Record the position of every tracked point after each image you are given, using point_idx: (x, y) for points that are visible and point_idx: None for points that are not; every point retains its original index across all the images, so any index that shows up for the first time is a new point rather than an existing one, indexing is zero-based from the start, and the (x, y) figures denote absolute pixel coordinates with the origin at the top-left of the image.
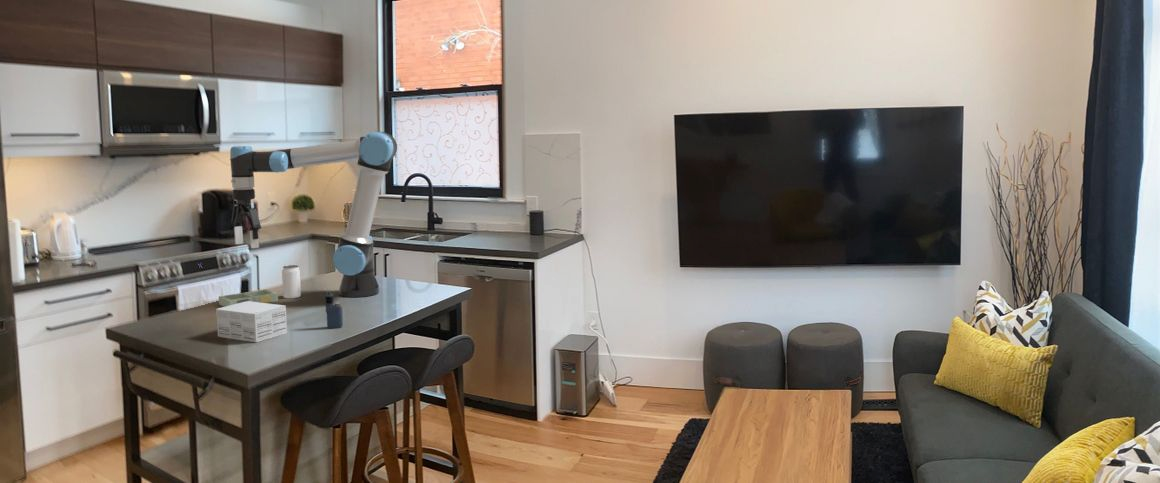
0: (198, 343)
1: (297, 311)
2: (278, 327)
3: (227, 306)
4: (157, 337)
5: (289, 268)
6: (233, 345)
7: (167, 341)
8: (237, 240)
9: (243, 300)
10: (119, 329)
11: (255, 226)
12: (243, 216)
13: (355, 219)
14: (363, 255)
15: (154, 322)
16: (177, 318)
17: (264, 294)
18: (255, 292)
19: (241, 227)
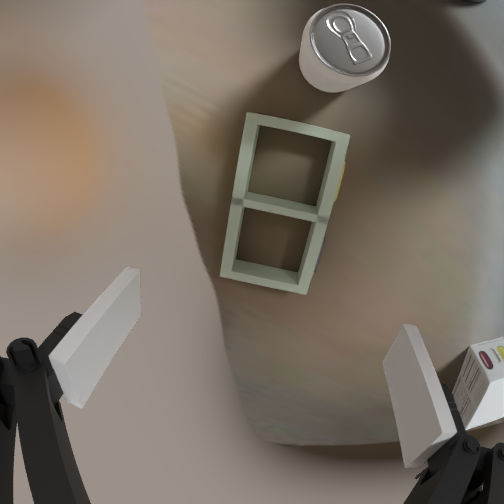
0: None
1: (486, 204)
2: None
3: (474, 417)
4: (367, 435)
5: (378, 68)
6: None
7: (398, 434)
8: (130, 321)
9: (320, 255)
10: (269, 439)
11: (482, 484)
12: (74, 497)
13: None
14: None
15: (273, 408)
16: (281, 381)
17: (258, 126)
18: (250, 160)
19: (72, 361)
